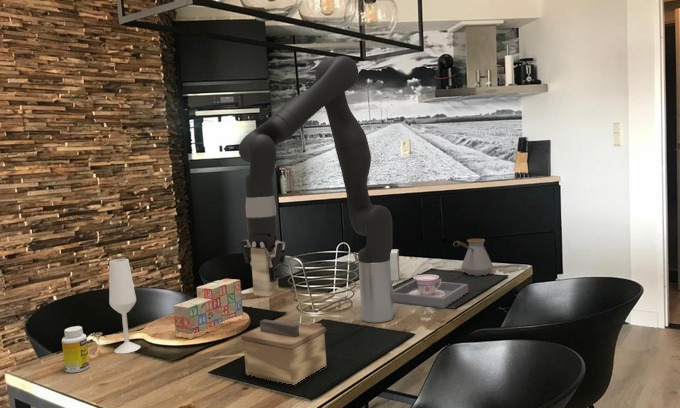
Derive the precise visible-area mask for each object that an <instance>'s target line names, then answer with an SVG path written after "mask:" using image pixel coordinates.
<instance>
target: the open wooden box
mask: <svg viewBox="0 0 680 408" xmlns="http://www.w3.org/2000/svg"><path fill="white" fill-rule="evenodd" d="M242 341H243V353H244V363H245V364H244V366H245V375H246V374H247V375H246V376H249V375H251V376H250V377H253V376H255V377H254V378H259V379H262V378H263V379H262V380H266V379H267V381H270V380H271V382H275V381H276V382H275V383H279V382H282V383H281V384H283V383H286V384H285V385H287V384H292V385H295V384H297V383H298V382H300V381H301V380H303V379H305V378H306V377H308V376H310V375H311V374H313V373H315V372H316V371H318V370H320V369H321V368H323V367H325V366H326V367H327V354H326V339H325V333H323V334H321V335H319V336H317V337H315V338H313V339H311V340H309V341H307V342H305V343H303V344H301V345H299V346H297V347H295V348H293V349H288V348H282V347H277V346H272V345H267V344H261V343H256V342H251V341H246V340H242ZM326 367H325V368H326ZM320 371H321V370H320ZM315 374H316V373H315ZM310 377H311V376H310ZM305 380H306V379H305ZM300 383H301V382H300ZM292 385H291V386H292ZM297 385H298V384H297ZM295 386H296V385H295Z"/></svg>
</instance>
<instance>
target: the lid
mask: <svg viewBox="0 0 680 408" xmlns="http://www.w3.org/2000/svg"><path fill="white" fill-rule="evenodd" d="M323 333H324V334H325V333H327V328H326V327H325V326H323V323H315V322H314V323H312V324H307V323H299V322H293V321H286V320H281V319H276V320H271V319H262V320H259V327H258V328H255V329H253V330H251V331H248V332H246V333H244V334H243V333H242V334H241V335H240V339H241V340H242V341H244V340H246V341H251V342H256V343H261V344H267V345H272V346H277V347H282V348H288V349H293V348H295V347H297V346H299V345H301V344H303V343H305V342H307V341H309V340H311V339H313V338H315V337H317V336H319V335H321V334H323Z"/></svg>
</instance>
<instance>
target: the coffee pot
mask: <svg viewBox="0 0 680 408" xmlns="http://www.w3.org/2000/svg"><path fill="white" fill-rule="evenodd" d="M466 241H467V242H468V245H467V244H466V243H464V242H461V240H460V241H459V240H456V241H455V242H453V244H452V245H453V246H455V243H457V247H458V246H461V247H464V248H466V249H467V251H466V254H465V256H464V259H463V260H462V264H461V267H460V268H461V270H462V271H463V272H464V273H466V275H467V274H468V275H467V276H470V275H474V276H473V277H482V276H481V275H484V276H487V275H488V274H489V273H490V272H491V271H492V269H493V267H494V266H493V265H494V264H493V263H492V261H491V259H490V256H489V254H488V252H487V250H486V247H485V246H484V243H485V242H486V239H485V238H469V239H467V240H466Z"/></svg>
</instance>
